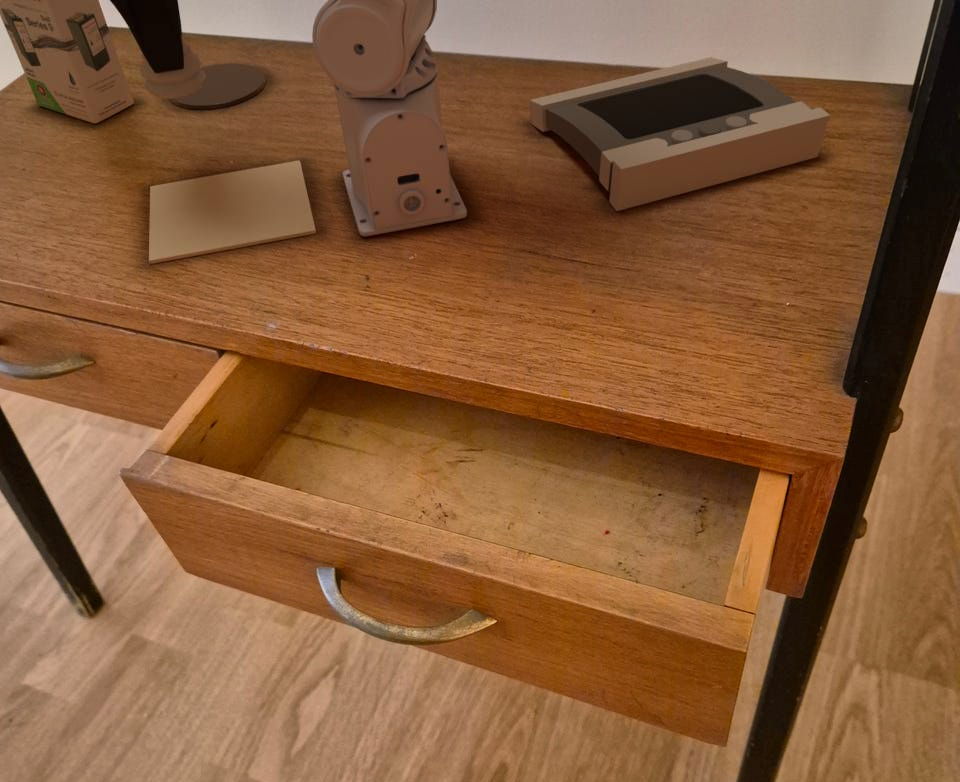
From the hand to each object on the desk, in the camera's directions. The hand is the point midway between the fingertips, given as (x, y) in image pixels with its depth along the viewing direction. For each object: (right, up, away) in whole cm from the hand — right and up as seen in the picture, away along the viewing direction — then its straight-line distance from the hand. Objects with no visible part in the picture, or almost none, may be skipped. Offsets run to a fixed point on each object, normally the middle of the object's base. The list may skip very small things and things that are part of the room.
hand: (168, 58), depth 62 cm
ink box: (-14, +5, +19) cm, 24 cm away
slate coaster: (-2, +7, +20) cm, 21 cm away
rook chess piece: (0, -2, +2) cm, 2 cm away
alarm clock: (+37, -3, +8) cm, 38 cm away
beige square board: (+3, -9, +5) cm, 11 cm away
